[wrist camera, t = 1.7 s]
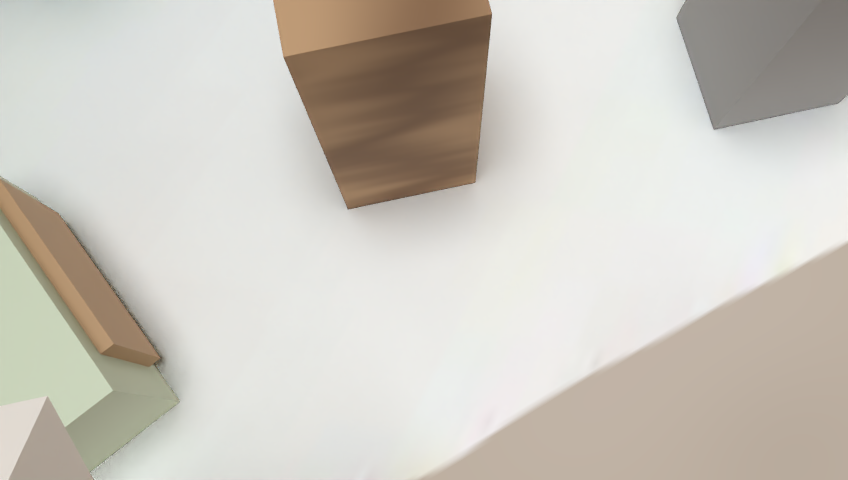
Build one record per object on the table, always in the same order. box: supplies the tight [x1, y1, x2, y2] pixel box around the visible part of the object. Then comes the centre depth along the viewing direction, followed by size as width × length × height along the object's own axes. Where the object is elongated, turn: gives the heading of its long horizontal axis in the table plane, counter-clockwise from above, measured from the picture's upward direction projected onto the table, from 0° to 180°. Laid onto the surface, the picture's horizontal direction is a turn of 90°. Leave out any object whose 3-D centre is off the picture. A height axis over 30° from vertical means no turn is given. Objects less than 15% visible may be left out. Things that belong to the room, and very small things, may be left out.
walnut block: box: [273, 0, 492, 209], centre depth 25 cm, size 5×5×12 cm
